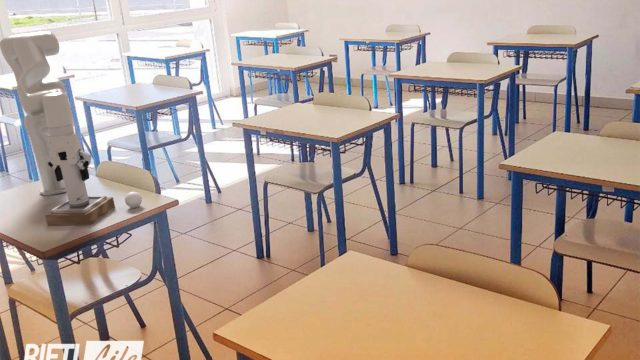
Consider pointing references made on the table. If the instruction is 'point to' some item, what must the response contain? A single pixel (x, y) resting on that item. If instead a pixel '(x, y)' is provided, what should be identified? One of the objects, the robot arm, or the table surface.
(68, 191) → the travel mug
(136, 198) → the white egg
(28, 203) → the table surface
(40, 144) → the robot arm
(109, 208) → the display stand
